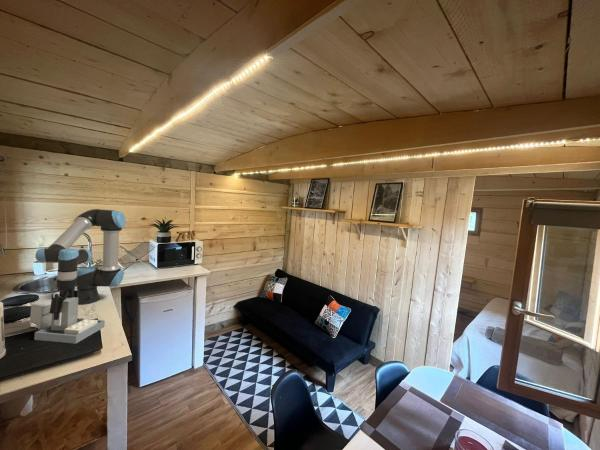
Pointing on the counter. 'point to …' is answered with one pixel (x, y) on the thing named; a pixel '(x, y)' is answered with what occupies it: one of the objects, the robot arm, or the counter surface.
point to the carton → (80, 326)
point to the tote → (59, 335)
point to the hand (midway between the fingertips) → (64, 322)
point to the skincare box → (67, 314)
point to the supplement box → (41, 314)
